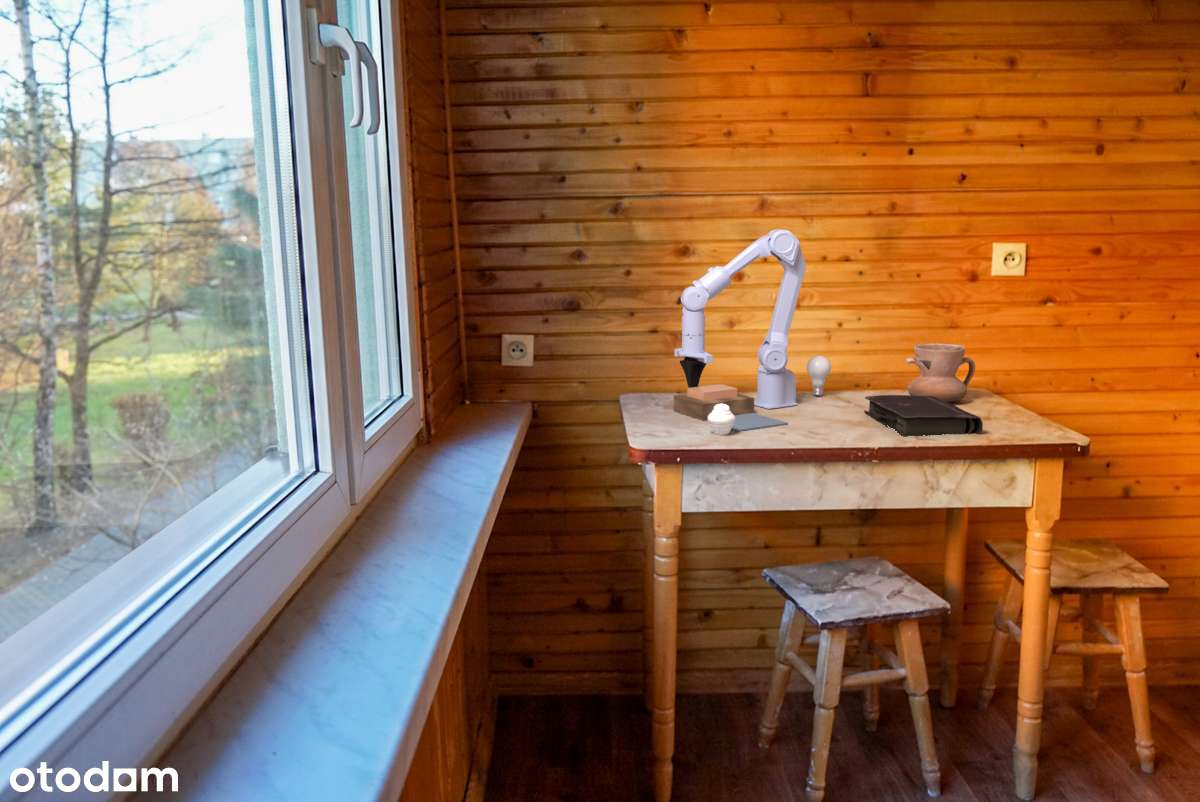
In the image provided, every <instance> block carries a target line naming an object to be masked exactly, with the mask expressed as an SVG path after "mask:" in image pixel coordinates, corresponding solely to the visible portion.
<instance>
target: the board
mask: <svg viewBox="0 0 1200 802" xmlns="http://www.w3.org/2000/svg"><path fill="white" fill-rule="evenodd" d="M754 401H755V397H754V396H753V397H752V396H749V395H746V394H742V393H738V392H737V397H729V398H721V399H713V400H705V401H703V400H700V399H696V398H693V397H689V396H688V393H683V394H674V395H673V412H675V413H678V414H680V415H685V416H687V417H691V418H694V419H697V420H700V421H702V422H704V421H706V419H708V415H709V414H710V413H712V411H713V410H714V406H715V405H717V404H721V403H722V404H726V405H728V406H729V408H730V411H731V413H732V414H733V415H741V414H749V413H755V405H754Z"/></svg>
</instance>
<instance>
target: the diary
mask: <svg viewBox="0 0 1200 802" xmlns="http://www.w3.org/2000/svg"><path fill="white" fill-rule="evenodd" d="M864 399H865V400H868V401H869V403H868V404H869V405H868V406H869V407H868V411H867V410H866V409H864V410H863V412H864V414H865V415H867V416H868V417H869V416H870V418H871V419H873V420H875V421H877V423H879V424H881V425H883V426H884V425H885V426H884V427H886V428H887V427H888V426H889V427H890V428H889V429H891V428H893V429H895V431H897V433H899V434H898V435H899V436H900V435H901V436H900V437H902V436H903V437H902V438H904V437H906V438H908V436H915V437H931V436H930V435H942V434H944V435H945V434H949V435H964V434H967V435H969V436H971V433H974V434H976V435H978V434H979V435H981V433H982V431H983V426H984V424H983V421H982V417H980V416H979V415H976V414H973V413H970V412H968V411H965V410H963V409H962V408H960V407H958V406H956V405H954V404H952V403H950V402H949V403H947V402H944V401H942V400H940V399H939V398H937V397H935V396H911V395H910V394H907V395H906V394H882V395H881V394H880V395H867V396H865V397H864ZM887 425H888V426H887ZM893 429H892V430H893ZM895 431H894V432H895ZM897 433H896V434H897ZM923 435H925V436H923ZM928 435H929V436H928ZM945 436H946V435H945Z"/></svg>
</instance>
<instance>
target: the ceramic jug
mask: <svg viewBox="0 0 1200 802" xmlns="http://www.w3.org/2000/svg"><path fill="white" fill-rule="evenodd" d="M913 348H914V350H913V351H914V356H915V357H908V358H906V359H905V364H906V365H909V364H914V365H915V366H917V367H918V369H919V371H920V375H918V376H916V378H913V379H912V380H910V381H909V383H908V384H907V388H906V389H907V391H908V395H911V396H935V397H937V398H939V399H940V400H942V401H944V402H947V403H949V404H950V403H954V402H957V401H960V400H962V399H963V398H964V397H966V395H967V394H968V385H969V383H970V382H971V380H972V379H973V377H974V375H975V370H976V363H975V361H974V359H972V358H971V357H965V353H966V347H965V346H964V345H958V344H953V343H952V344H949V343H923V344H917V345H916V344H915V345H914V347H913ZM966 363H967V364H968V371H967V375H966V377H965V379H964V380H963V381H962V380H960V379H959V378H958V377H957V376H956V373H957V371H958V369H959V368H960V366H962V365H964V364H966Z"/></svg>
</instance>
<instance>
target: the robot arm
mask: <svg viewBox="0 0 1200 802" xmlns="http://www.w3.org/2000/svg"><path fill="white" fill-rule="evenodd" d="M771 256H774V257H775V259H776V260H777V261H778V262H779V264H780V265H781V266H782V268H783V269H784V271H783V275H782V278H781V282H780V285H779V289H778V294H777V298H776V302H775V306H774V309H773V312H772V316H771V317H772V318H771V320H770V321H771V322H770V325H769V328H768V331H767V333H766V335H765V337H764V341H763V343H762V344H761V345H760V346H759V347H758V350H757V352H756V354H757V356H756V357H757V360H758V361H759V363H760V365H759V367H758V368H757V378H756V379H757V381H756V382H757V383H756V384H757V385H756V387H757V388H756V389H757V390H756V399H757V400H754V406H757V407H760V408H764V409H767V410H768V409H769V410H770V409H771V410H772V409H777V408H786V407H791V406H792V407H793V406H794V407H795V406H798V405H799V403H798V402H796V399H797V398H796V397H797V396H796V395H797V378H796V376H795V373H794V372H793V371H792V370H791V369H787V367H786V366H787V364H788V362H789V361H788V360H789V359H788V358H789V357H788V353H787V352H788V351H787V350H788V346H789V338H788V337H789V333H790V330H791V329H790V328H791V326H792V323H793V318H794V314H795V310H796V308H797V302H798V298H799V295H800V291H801V287H802V283H803V280H804V276H805V272H806V269H807V268H806V267H807V265H806V261H805V259H804V258H805V257H804V255H803V251H802V249H801V242H800V241H799V240H798V238H797V237H796V236H795V234H794V233H793V232H791V231H790V230H786V229H779V228H777V229H773V230H771V231H769V232H768V233H767V234H766V235H765V234H764V235H762V236H761V237H759V238H758V239H756V240H755V241H753V242H752V243H751V244H750V245H749V246H747V247H746V248H745V249H744V250H742V251H741V252H739V254H737V255H736V256H735V257H734V258H733V259H732V260H730V261H729V262H728V263H727V264H726V265H725V266H720V265H716V266H715V267H710V268H707V272H706V274H705V275H703V276H702V277H700V278H699V279H698V280H696V279H695V280H693V281H692V284H693V285H691V286H687V287H685V289H684V290H683V291H682V292H681V293H682V294H681V296H680V302H681V304H682V305H683V306H682V311H681V312H682V316H681V347H679V348H674V357H681V358H683V359H682V360H679V364H680V366H681V367H682V370H683V373H684V376H685V379H686V384H687V389H688V388H692V387H699V384H700V380H701V377H702V376H701V375H702V373H703V371H704V369H705V367H706V366H707V364H712V363H714V355H713V354H710V353H709V352H707V351H705V344H706V338H705V337H706V335H705V334H706V326H705V325H706V319H705V318H706V317H705V306H706V305H707V303H708V302H707V301H708V300H712V299H713V298H714V297H716V296H718V295H719V294H720V293H721V292H722V291H724V290H725V289H727V288H728V287H729V286H730V285H731V282H732V277H733V276H735V275H736V274H737V273H740V271H742V270H744V269H745V268H746V267H747V266H749V265H751V263H753V262H754V261H756V260H758V259H759V258H767V257H771Z"/></svg>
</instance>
